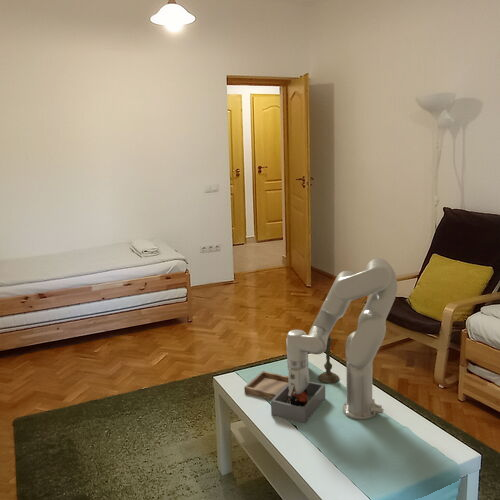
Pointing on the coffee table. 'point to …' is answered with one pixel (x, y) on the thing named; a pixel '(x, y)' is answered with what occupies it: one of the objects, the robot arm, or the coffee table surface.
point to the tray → (266, 385)
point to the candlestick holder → (328, 367)
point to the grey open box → (297, 412)
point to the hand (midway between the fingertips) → (299, 403)
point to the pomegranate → (301, 398)
